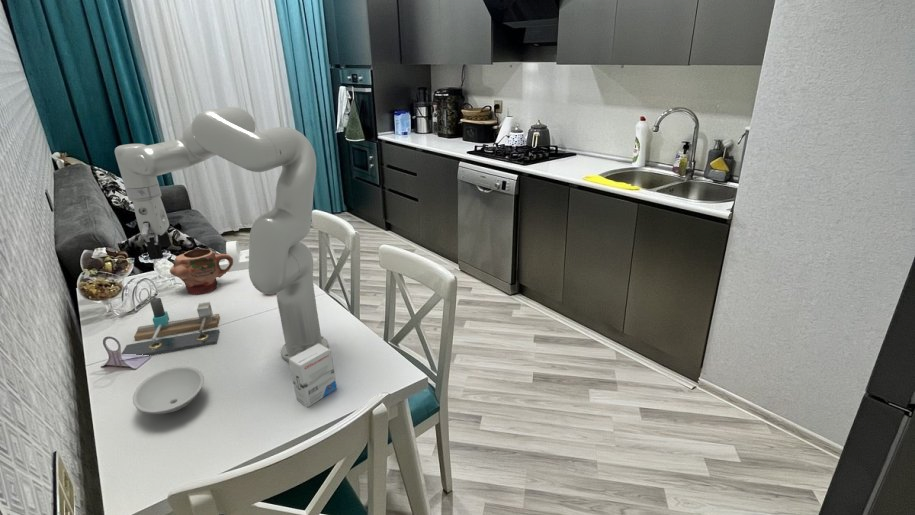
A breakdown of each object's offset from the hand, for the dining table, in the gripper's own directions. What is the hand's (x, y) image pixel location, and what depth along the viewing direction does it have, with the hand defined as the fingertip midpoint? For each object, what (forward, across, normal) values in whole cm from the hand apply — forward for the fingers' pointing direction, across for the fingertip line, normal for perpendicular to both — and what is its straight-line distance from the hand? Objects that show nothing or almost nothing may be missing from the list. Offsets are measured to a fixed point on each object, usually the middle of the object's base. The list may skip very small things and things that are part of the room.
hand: (161, 252), depth 130 cm
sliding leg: (+25, 0, +6) cm, 25 cm away
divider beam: (+26, 0, +2) cm, 26 cm away
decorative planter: (+26, +33, -2) cm, 42 cm away
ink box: (+27, -43, -36) cm, 62 cm away
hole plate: (+26, -6, +2) cm, 27 cm away
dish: (+26, -35, -4) cm, 44 cm away
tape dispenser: (+27, +51, -10) cm, 58 cm away
